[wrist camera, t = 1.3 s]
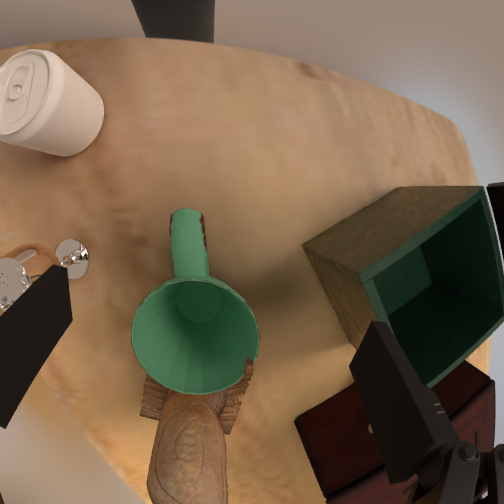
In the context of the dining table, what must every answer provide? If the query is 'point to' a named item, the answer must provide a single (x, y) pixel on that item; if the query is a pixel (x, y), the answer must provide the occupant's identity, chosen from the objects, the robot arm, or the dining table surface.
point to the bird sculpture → (190, 442)
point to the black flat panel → (498, 208)
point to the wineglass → (37, 266)
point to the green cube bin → (417, 273)
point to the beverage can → (47, 105)
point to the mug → (194, 320)
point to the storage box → (364, 444)
